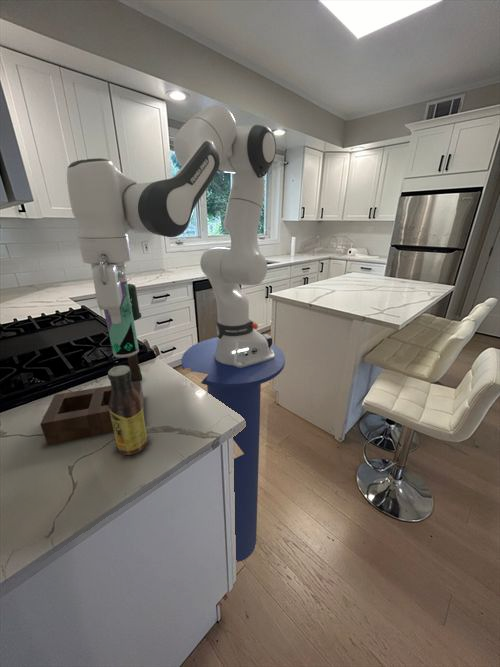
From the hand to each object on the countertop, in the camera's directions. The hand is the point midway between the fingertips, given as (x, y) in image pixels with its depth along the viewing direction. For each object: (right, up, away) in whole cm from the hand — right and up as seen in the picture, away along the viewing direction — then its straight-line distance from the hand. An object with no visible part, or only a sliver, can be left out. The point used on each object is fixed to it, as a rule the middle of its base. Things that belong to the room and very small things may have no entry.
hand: (118, 317), depth 61 cm
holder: (-9, -25, +9) cm, 28 cm away
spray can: (0, -8, +3) cm, 9 cm away
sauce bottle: (+3, -29, +1) cm, 29 cm away
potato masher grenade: (-7, -19, +26) cm, 32 cm away
